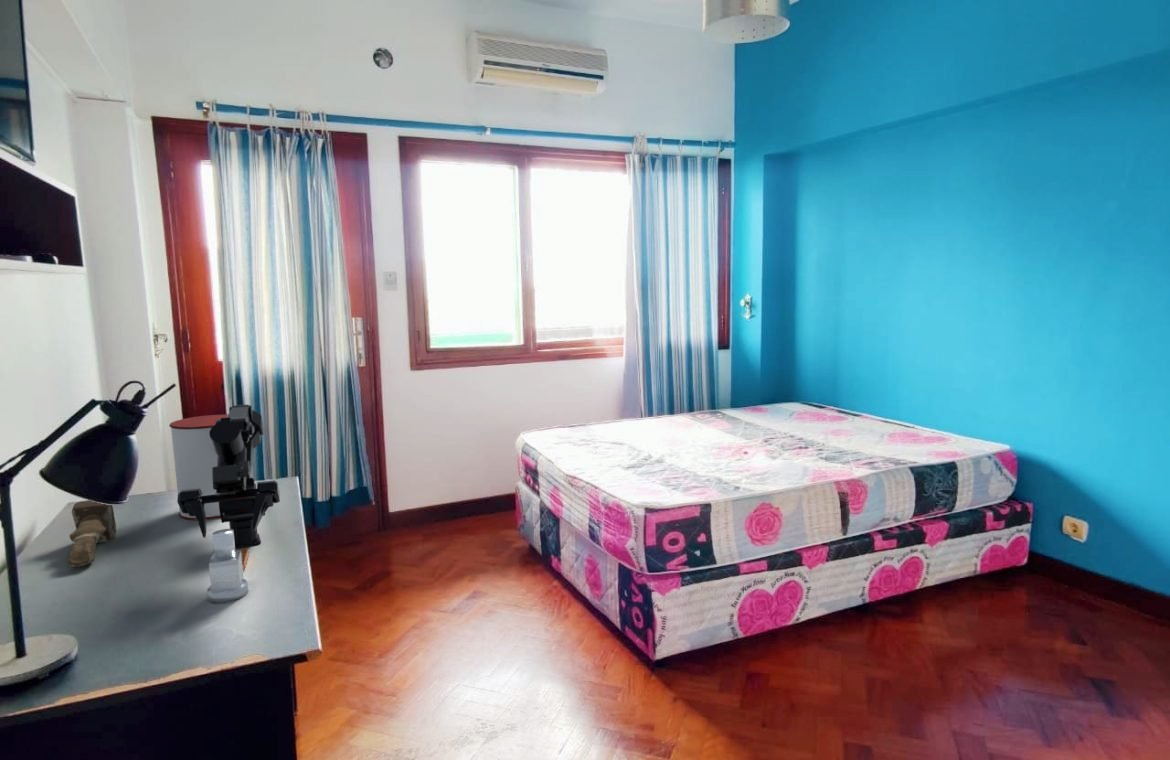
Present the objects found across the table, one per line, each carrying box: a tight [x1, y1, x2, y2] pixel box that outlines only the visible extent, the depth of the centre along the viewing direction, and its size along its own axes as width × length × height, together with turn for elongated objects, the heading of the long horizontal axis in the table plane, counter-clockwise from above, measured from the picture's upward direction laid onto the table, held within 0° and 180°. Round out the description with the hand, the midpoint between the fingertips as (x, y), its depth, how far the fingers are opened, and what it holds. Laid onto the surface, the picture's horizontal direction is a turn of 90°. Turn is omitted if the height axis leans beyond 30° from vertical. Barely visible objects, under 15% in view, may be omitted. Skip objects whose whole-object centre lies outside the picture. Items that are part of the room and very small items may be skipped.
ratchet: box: [206, 548, 250, 605], centre depth 137 cm, size 23×7×4 cm, turn 21°
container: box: [169, 414, 228, 521], centre depth 180 cm, size 17×17×25 cm
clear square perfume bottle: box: [208, 528, 244, 593], centre depth 129 cm, size 5×5×11 cm
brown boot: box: [68, 500, 117, 568], centre depth 153 cm, size 8×22×15 cm
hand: (229, 533), depth 136 cm, fingers open, 9 cm apart
